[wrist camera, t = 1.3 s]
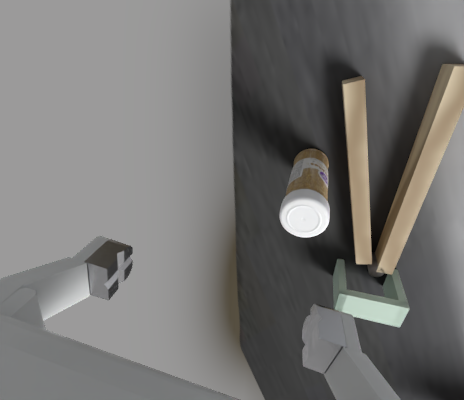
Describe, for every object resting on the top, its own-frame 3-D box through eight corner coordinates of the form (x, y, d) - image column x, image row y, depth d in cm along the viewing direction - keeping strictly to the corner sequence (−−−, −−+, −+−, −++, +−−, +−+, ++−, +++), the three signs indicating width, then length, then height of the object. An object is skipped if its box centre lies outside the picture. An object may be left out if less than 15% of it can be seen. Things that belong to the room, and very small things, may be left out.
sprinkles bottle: (336, 162, 34) (341, 221, 23) (310, 185, 37) (303, 247, 26) (310, 139, 34) (302, 188, 23) (286, 163, 36) (268, 218, 25)
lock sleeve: (397, 269, 39) (409, 308, 34) (389, 287, 42) (399, 327, 36) (337, 258, 42) (339, 293, 36) (332, 276, 44) (333, 311, 38)
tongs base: (466, 64, 26) (481, 66, 23) (385, 264, 40) (389, 279, 37) (430, 63, 26) (441, 66, 24) (364, 261, 40) (366, 275, 38)
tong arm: (361, 75, 29) (364, 79, 26) (369, 250, 39) (372, 264, 37) (341, 80, 29) (343, 84, 27) (354, 250, 40) (356, 264, 38)
